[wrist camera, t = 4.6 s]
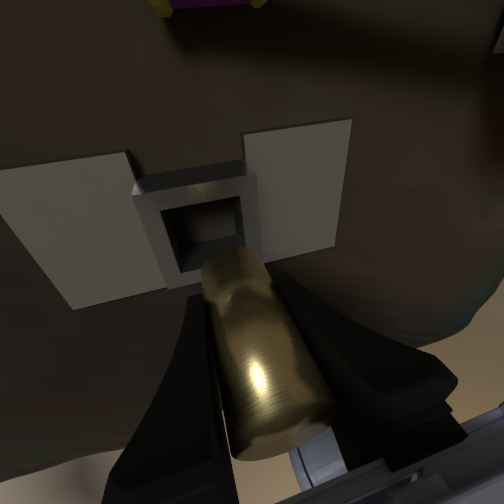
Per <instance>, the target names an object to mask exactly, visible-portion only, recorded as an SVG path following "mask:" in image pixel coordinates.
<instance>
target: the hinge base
mask: <svg viewBox="0 0 504 504" xmlns="http://www.w3.org/2000/svg"><path fill="white" fill-rule="evenodd" d="M351 124H352V119H349V118H337V119H330V120H323V121H316V122H309V123H302V124H295V125H288V126H281V127H274V128H267V129H261V130H254V131H247V132H240V136H241V146H242V156H243V159H242V160H236V161H230V162H224V163H218V164H212V165H206V166H199V167H193V168H187V169H181V170H175V171H169V172H163V173H157V174H151V175H144V176H138V177H137V175H136V172H135V169H134V167H133V164H132V161H131V158H130V155H129V153H128V150H127V149H121V150H114V151H107V152H100V153H93V154H86V155H79V156H72V157H65V158H58V159H51V160H44V161H38V162H31V163H24V164H17V165H10V166H3V167H0V214H1V216H2V217H3V218H4V220H5V221H6V222H7V224H8V225H9V226H10V228H11V229H12V230H13V231H14V233H15V234H16V235H17V237H18V238H19V239H20V241H21V242H22V243H23V245H24V246H25V247H26V249H27V250H28V251H29V252H30V254H31V255H32V256H33V258H34V259H35V260H36V262H37V263H38V264H39V266H40V267H41V268H42V270H43V271H44V272H45V274H46V275H47V276H48V277H49V279H50V280H51V281H52V283H53V284H54V285H55V287H56V288H57V289H58V291H59V292H60V293H61V295H62V296H63V297H64V298H65V300H66V301H67V302H68V304H69V305H70V306H71V308H72V309H73V310H75V309H79V308H83V307H87V306H92V305H96V304H100V303H104V302H108V301H112V300H116V299H120V298H124V297H128V296H132V295H136V294H140V293H145V292H149V291H153V290H157V289H161V288H165V287H167V288H168V290H169V289H173V288H177V287H181V286H185V285H189V284H193V283H197V282H201V277H200V276H201V270H202V267H203V265H204V263H205V262H206V261H207V259H208V258H209V257H210V256H212V255H213V254H214V253H216V252H218V251H220V250H222V249H225V248H229V247H245V248H249V249H251V250H253V251H254V252H256V253H257V254H258V255H259V257H260V258H261V260H262V262H263V263H267V262H271V261H275V260H279V259H283V258H287V257H292V256H296V255H300V254H304V253H308V252H312V251H316V250H320V249H324V248H328V247H332V246H334V245H335V238H336V231H337V223H338V216H339V209H340V202H341V195H342V188H343V181H344V174H345V167H346V159H347V152H348V145H349V138H350V131H351ZM229 197H232V203H233V211H234V218H235V225H236V232H237V235H234V236H230V237H225V238H221V239H216V240H211V241H207V242H202V243H198V244H193V245H189V246H184V247H178V244H177V241H176V238H175V234H174V231H173V228H172V225H171V222H170V219H169V215H168V212H167V209H171V208H176V207H182V206H187V205H192V204H198V203H203V202H208V201H213V200H219V199H224V198H229Z"/></svg>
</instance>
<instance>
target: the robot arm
mask: <svg viewBox="0 0 504 504" xmlns="http://www.w3.org/2000/svg"><path fill="white" fill-rule="evenodd" d="M274 283H275V286H276V288H277V290H278V292H279V294H280V296H281V298H282V299H283V301H284V303H285V305H286V307H287V309H288V311H289V313H290V314H291V316H292V318H293V320H294V322H295V324H296V326H297V328H298V329H299V331H300V333H301V335H302V337H303V339H304V341H305V343H306V344H307V346H308V348H309V350H310V352H311V354H312V356H313V358H314V360H315V361H316V363H317V365H318V367H319V369H320V371H321V373H322V375H323V376H324V378H325V380H326V382H327V384H328V386H329V388H330V390H331V391H332V393H333V395H334V397H335V399H336V401H337V403H338V405H339V407H340V414H339V416H338V418H337V419H336V421H335V422H334V423H333V424H332V425H331V426H330V427H329V428H328V429H327V430H325V431H324V432H323V433H321V434H320V435H319V436H317V437H316V438H314V439H312V440H311V441H309V442H307V443H305V444H304V445H302V446H300V447H298V448H295V449H293V450H291V451H288V452H289V456H290V460H291V464H292V467H293V470H294V473H295V476H296V478H297V481H298V483H299V486H300V488H301V490H302V492H301V493H299V494H297V495H294V496H292V497H289V498H287V499H285V500H282V501H280V502H278V503H275V504H504V401H503V402H502V403H501V404H500V405H499V407H498V408H496V409H493V410H491V411H489V412H487V413H484V414H482V415H480V416H477V417H475V418H473V419H470V420H468V421H466V422H463V423H461V424H459V423H458V422H457V421H456V420H455V418H454V417H453V416H452V415H451V414H450V413H451V412H452V408H451V407H450V406H449V405H448V404H447V402H446V401H445V400H446V398H447V397H448V396H449V395H450V393H452V391H453V390H454V389H455V387H456V386H457V384H458V378H457V377H456V376H455V375H454V374H453V373H452V372H451V371H450V370H449V369H448V368H447V367H446V366H445V365H444V364H443V363H442V362H441V361H440V360H439V359H438V358H437V357H436V356H435V355H432V354H429V353H426V352H423V351H421V350H418V349H415V348H412V347H409V346H407V345H404V344H402V343H399V342H397V341H394V340H392V339H390V338H387V337H385V336H383V335H381V334H379V333H376V332H374V331H372V330H370V329H368V328H366V327H364V326H362V325H360V324H358V323H356V322H355V321H353V320H351V319H349V318H348V317H346V316H344V315H343V314H341V313H339V312H338V311H336V310H335V309H333V308H332V307H330V306H329V305H327V304H326V303H324V302H323V301H322V300H320V299H319V298H318V297H316V296H315V295H314V294H312V293H311V292H310V291H308V290H307V289H306V288H305V287H303V286H302V285H301V284H300V283H298V282H297V281H296V280H295V279H294V278H292V277H291V276H290V275H289V274H288V273H286V272H284V273H280V274H276V275H274ZM101 504H239V500H238V495H237V489H236V484H235V479H234V474H233V469H232V464H231V458H230V453H229V448H228V443H227V437H226V432H225V427H224V421H223V416H222V410H221V405H220V399H219V392H218V384H217V373H216V365H215V359H214V354H213V348H212V342H211V336H210V330H209V324H208V318H207V312H206V307H205V303H204V299H203V295H202V293H201V294H197V295H193V296H189V297H188V298H187V305H186V311H185V316H184V320H183V324H182V328H181V331H180V335H179V338H178V341H177V344H176V347H175V350H174V353H173V356H172V358H171V361H170V363H169V366H168V368H167V371H166V373H165V375H164V378H163V380H162V382H161V384H160V386H159V388H158V390H157V392H156V394H155V396H154V398H153V400H152V402H151V404H150V406H149V408H148V410H147V412H146V413H145V415H144V417H143V419H142V420H141V422H140V424H139V426H138V428H137V429H136V431H135V433H134V434H133V436H132V438H131V439H130V441H129V443H128V444H127V446H126V447H125V449H124V450H123V452H122V454H121V455H120V457H119V458H118V460H117V462H116V463H115V465H114V466H113V468H112V469H111V471H110V473H109V476H108V480H107V483H106V487H105V490H104V495H103V499H102V502H101Z"/></svg>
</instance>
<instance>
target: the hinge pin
mask: <svg viewBox="0 0 504 504" xmlns="http://www.w3.org/2000/svg"><path fill="white" fill-rule="evenodd" d="M200 277H201V284H202V290H203V296H204V301H205V307H206V312H207V318H208V324H209V330H210V336H211V342H212V348H213V354H214V359H215V365H216V371H217V377H218V383H219V388H220V394H221V400H222V406H223V412H224V417H225V423H226V429H227V434H228V440H229V446H230V452H231V455H232V457H233V458H235V459H237V460H241V461H256V460H262V459H267V458H271V457H274V456H277V455H280V454H283V453H286V452H288V451H291V450H293V449H295V448H298V447H300V446H302V445H304V444H305V443H307V442H309V441H311V440H312V439H314V438H316V437H317V436H319V435H320V434H321V433H323V432H324V431H325V430H327V429H328V428H329V427H330V426H331V425H332V424H333V423H334V422H335V421H336V419H337V418H338V416H339V414H340V407H339V405H338V403H337V401H336V399H335V397H334V395H333V393H332V391H331V390H330V388H329V386H328V384H327V382H326V380H325V378H324V376H323V375H322V373H321V371H320V369H319V367H318V365H317V363H316V361H315V360H314V358H313V356H312V354H311V352H310V350H309V348H308V346H307V344H306V343H305V341H304V339H303V337H302V335H301V333H300V331H299V329H298V328H297V326H296V324H295V322H294V320H293V318H292V316H291V314H290V313H289V311H288V309H287V307H286V305H285V303H284V301H283V299H282V298H281V296H280V294H279V292H278V290H277V288H276V286H275V284H274V283H273V281H272V279H271V277H270V275H269V273H268V271H267V269H266V267H265V266H264V264H263V262H262V260H261V258H260V257H259V255H258V254H257V253H256V252H254V251H253V250H251V249H249V248H245V247H229V248H225V249H222V250H220V251H218V252H216V253H214V254H213V255H212V256H210V257H209V258H208V259H207V261H206V262H205V263H204V265H203V267H202V270H201V276H200Z"/></svg>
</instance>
